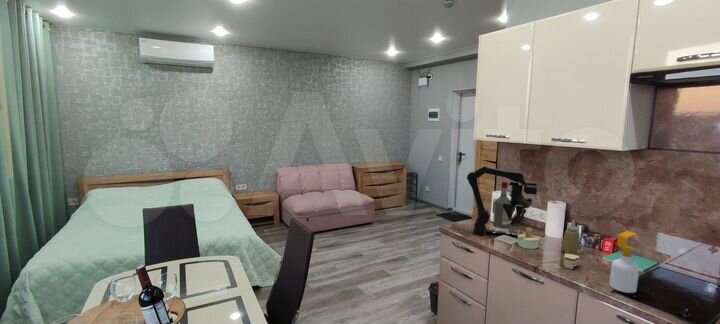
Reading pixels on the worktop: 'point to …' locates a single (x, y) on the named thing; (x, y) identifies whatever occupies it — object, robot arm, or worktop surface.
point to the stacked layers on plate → (570, 260)
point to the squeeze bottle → (571, 239)
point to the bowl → (527, 244)
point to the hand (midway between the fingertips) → (514, 218)
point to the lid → (528, 235)
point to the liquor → (501, 209)
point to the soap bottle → (624, 267)
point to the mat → (507, 239)
